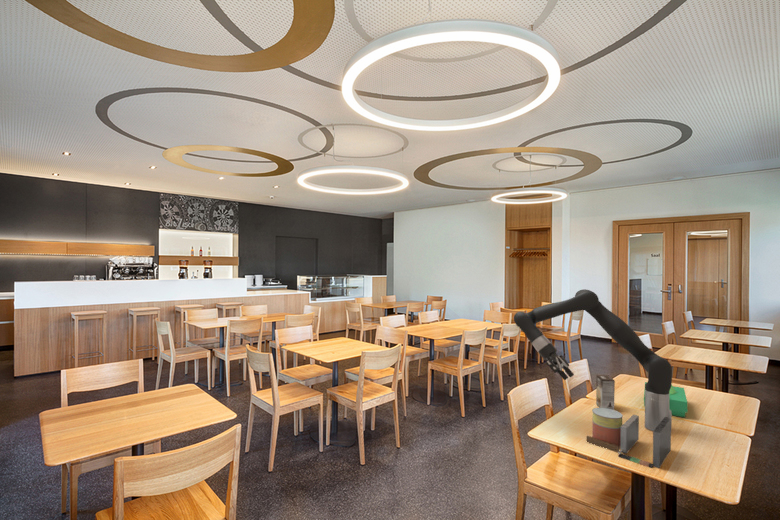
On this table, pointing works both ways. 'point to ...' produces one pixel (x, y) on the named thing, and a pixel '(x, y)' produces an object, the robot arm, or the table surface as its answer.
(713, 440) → the table surface
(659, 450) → the frame
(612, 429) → the canned food
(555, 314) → the robot arm
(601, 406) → the coffee box
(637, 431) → the steel plate
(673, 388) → the green box
